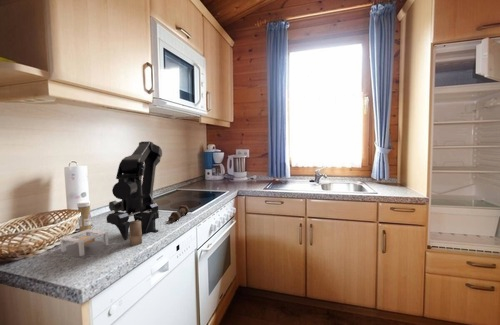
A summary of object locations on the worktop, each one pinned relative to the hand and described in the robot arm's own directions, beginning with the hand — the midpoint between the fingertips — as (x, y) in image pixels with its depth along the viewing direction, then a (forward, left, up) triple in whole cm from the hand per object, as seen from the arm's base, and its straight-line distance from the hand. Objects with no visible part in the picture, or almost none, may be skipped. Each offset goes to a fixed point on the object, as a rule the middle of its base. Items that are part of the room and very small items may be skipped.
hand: (135, 235), depth 91 cm
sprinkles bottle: (-4, -32, -4) cm, 33 cm away
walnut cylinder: (0, 0, -4) cm, 4 cm away
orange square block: (+9, -14, -1) cm, 17 cm away
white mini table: (+9, -14, -4) cm, 17 cm away
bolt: (-33, -6, -4) cm, 34 cm away
